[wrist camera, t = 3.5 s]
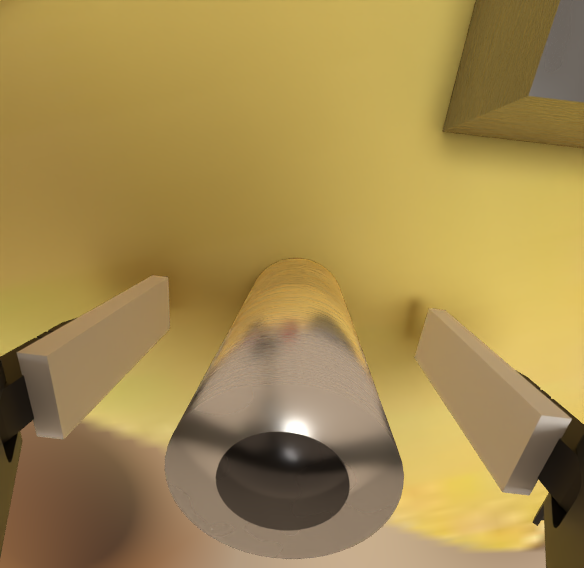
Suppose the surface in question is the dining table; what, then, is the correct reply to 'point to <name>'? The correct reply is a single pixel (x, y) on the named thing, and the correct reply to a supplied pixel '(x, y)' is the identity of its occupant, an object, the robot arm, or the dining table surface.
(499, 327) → the dining table surface
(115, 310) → the robot arm
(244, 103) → the dining table surface
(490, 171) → the dining table surface
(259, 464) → the bushing
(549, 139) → the jig
